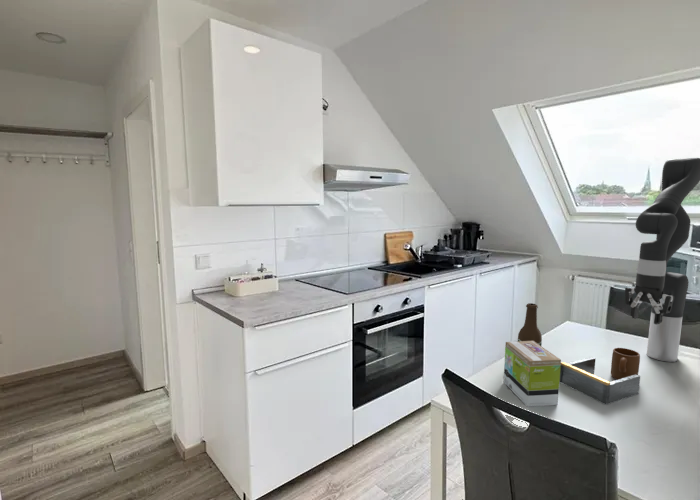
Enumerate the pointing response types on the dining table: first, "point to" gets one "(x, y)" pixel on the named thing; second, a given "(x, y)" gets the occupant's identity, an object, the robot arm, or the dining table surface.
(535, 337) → the beer bottle
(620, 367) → the mug
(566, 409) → the dining table surface
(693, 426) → the dining table surface
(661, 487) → the dining table surface
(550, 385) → the tea box
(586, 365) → the bracket
